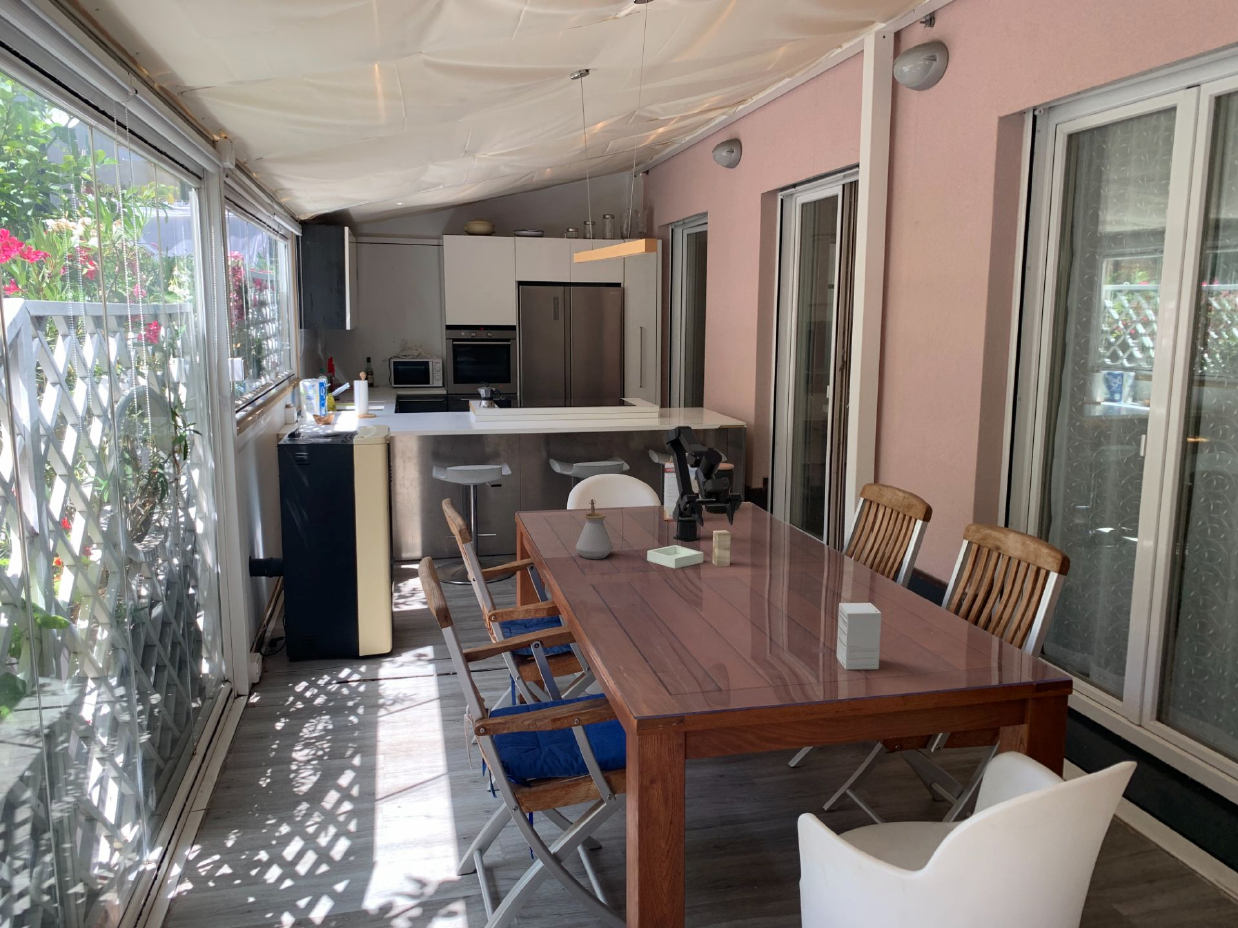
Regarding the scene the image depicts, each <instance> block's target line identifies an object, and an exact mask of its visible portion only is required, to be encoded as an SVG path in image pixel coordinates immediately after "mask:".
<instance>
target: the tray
mask: <svg viewBox="0 0 1238 928" xmlns="http://www.w3.org/2000/svg"><path fill="white" fill-rule="evenodd" d="M646 557H647V558H646V559H647V561H648V562H650V563H654V564H658V565H662V566H664V567H668V568H671V569H679V568H685V567H688V566H693V565H698V564H702V563H704V552H703V551H699V550H695V549H691V548H689V547H684V546H681V545H678V544H675V545H670V546H669V545H668V546H665V547H660V548H655V549H649V550H647V556H646Z"/></svg>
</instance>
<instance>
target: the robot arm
mask: <svg viewBox="0 0 1238 928" xmlns="http://www.w3.org/2000/svg"><path fill="white" fill-rule="evenodd" d="M662 440H663V441H662V442H663V444H664V446H665V450H666V452H667V453H668V454H669V455H670V456H671V457H672V463H674V468H675V474H676V479H677V485H678V490H679V497H678V499H677V502H676V506H675V509H674V511H673V514H672V515H673V520H674V521H673V522H676V535H674V536H673V538H672V539H676V540H679V541H684V542H690V541H695V540H699V539H700V537H699V536H698V524H699V526H700V527H702V528H704V526H705V524H704V522H705V521H704V519H703V513H704V512H703V511H704V506H705V505H707V506H713V505H725V507H726V509H727V510H726V513H725V514H726V517H727V519H728V523H729V525H730V526H733V525H734V517H735V516H734V515H735V512H737V511H738V510H739V509H740V507H741V506H742V504H743V501H744V499H743V495H742V494H741V493H739V492H738V493H737V492H736V493H733V494H729V495H728V497H727V498H722V499H720V496H721V495H722V490H724V489H727V488H728V487H729V480H728V477H727V478H722V479H715V477H714V474H715V473H716V472H717V470H718V468H719V466H720V463H722V461H723V456H722V454H721V453H720V452H719V451H717V450H715V449H714V447H712V446H711V447H706V446H703V445H701V443H700V442H699V440H698V438H697V437H696V435H695V434H694V432H693V428H692V426H689V425H677V426H676V427H674V428H673V429H670V430H667V431H666V432H665V433H664V434H663V436H662ZM688 465H689V466H690V467H691V468H698V469H696V471H695V480H696V481H697V485H698V489H699V490H698V493H695V492H694V491H693V489H692V484H691V478H690V473H689V468H688ZM699 494H700V497H701V499H700V497H699ZM697 523H698V524H697Z"/></svg>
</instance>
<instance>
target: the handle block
mask: <svg viewBox="0 0 1238 928" xmlns="http://www.w3.org/2000/svg"><path fill="white" fill-rule="evenodd" d="M712 532H713V533H712V534H713V535H712V536H713V537H712V564H713V565H714V566H716V567H730V563H731V562H730V560H731V559H730V558H731V538H732V537H731V536H732V535H731V532H729V531H728V530H725V529H724V530H713V531H712Z"/></svg>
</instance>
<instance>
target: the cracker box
mask: <svg viewBox="0 0 1238 928" xmlns="http://www.w3.org/2000/svg"><path fill="white" fill-rule="evenodd" d="M688 468H689V473H690V478H691V484H692V489H693V491H694V492H695V493H698V490H699V489H698V485H697V481H696V480H695V471H696V469H698V468H691V467H690V466H689V465H688ZM663 485H664V489H663V491H664V492H663V495H664V497H663V521H664V520H668V521H669V522H675V521H674V520H673V515H672V514H673V511H674V509H675V506H676V502H677V499H678V497H679V490H678V485H677V479H676V474H675V468H674V463H673V462H665V463H664V483H663ZM699 497H700V494H699ZM700 499H701V497H700Z"/></svg>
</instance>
